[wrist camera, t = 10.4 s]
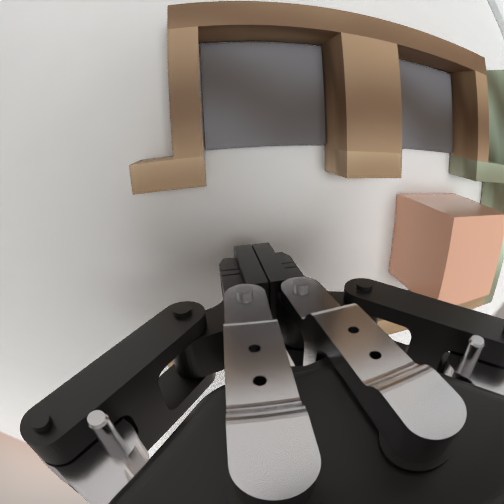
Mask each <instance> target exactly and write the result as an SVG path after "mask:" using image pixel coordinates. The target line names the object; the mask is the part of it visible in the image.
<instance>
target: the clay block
mask: <svg viewBox="0 0 504 504" xmlns="http://www.w3.org/2000/svg"><path fill="white" fill-rule="evenodd" d="M503 237H504V213H503V212H500V211H498V210H496V209H493V208H491V207H488V206H486V205H483V204H480V203H478V202H475V201H473V200H470V199H467V198H464V197H462V196H459V195H456V194H453V193H405V194H397V199H396V212H395V223H394V233H393V241H392V250H391V257H390V264H389V271H388V272H389V273H390V274H391V275H393V276H394V277H395V278H396V279H397V280H399V281H400V282H401V283H402V284H403V285H405V286H406V287H407V288H408V289H409V290H410V291H412V292H414V293H418V294H421V295H424V296H428V297H431V298H434V299H438V300H441V301H444V302H448V303H451V304H454V305H459V304H462V303H465V302H468V301H471V300H474V299H477V298H480V297H483V296H486V295H489V293H490V290H491V286H492V283H493V279H494V276H495V272H496V268H497V264H498V260H499V255H500V251H501V246H502V242H503Z"/></svg>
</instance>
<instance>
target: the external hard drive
mask: <svg viewBox="0 0 504 504" xmlns="http://www.w3.org/2000/svg"><path fill="white" fill-rule="evenodd" d="M487 1H488V3H489V5H490V7H491V9H492V12H493V14H494V16H495V18H496V21H497V23H498V25H499V28H500V30H501V33H502V35H503V38H504V0H487Z"/></svg>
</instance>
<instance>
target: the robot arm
mask: <svg viewBox="0 0 504 504" xmlns="http://www.w3.org/2000/svg"><path fill="white" fill-rule="evenodd" d="M219 267H220V277H221V286H222V295H223V301H222V302H221V303H220V304H219V305H217V306H215V307H213V308H210V309H207V310H205V309H204V307H203V306H202V305H201V304H199V303H196V302H190V301H185V302H178V303H175V304H172V305H170V306H168V307H167V308H165V309H164V310H163V311H161V312H160V313H159V314H157V315H156V316H155V317H153V318H152V319H150V320H149V321H148V322H146V323H145V324H144V325H142V326H141V327H140V328H138V329H137V330H136V331H134V332H133V333H131V334H130V335H129V336H127V337H126V338H125V339H123V340H122V341H121V342H119V343H118V344H117V345H115V346H114V347H113V348H111V349H110V350H108V351H107V352H106V353H104V354H103V355H102V356H100V357H99V358H98V359H96V360H95V361H94V362H92V363H91V364H90V365H88V366H87V367H86V368H84V369H83V370H82V371H80V372H79V373H78V374H76V375H75V376H73V377H72V378H71V379H69V380H68V381H67V382H65V383H64V384H63V385H61V386H60V387H59V388H57V389H56V390H55V391H53V392H52V393H51V394H49V395H48V396H47V397H45V398H44V399H43V400H41V401H40V402H39V403H37V404H36V405H35V406H33V407H32V408H31V409H30V410H28V411H27V412H26V414H25V415H24V416H23V418H22V420H21V424H20V432H21V435H22V437H23V439H24V440H25V441H26V442H27V443H28V444H29V446H30V447H31V448H32V449H33V450H34V451H35V452H36V453H37V454H38V456H39V457H40V459H41V460H42V461H43V462H44V463H45V464H46V465H47V466H48V467H49V468H50V469H51V470H52V471H53V472H54V473H55V474H56V475H57V476H58V477H59V478H60V479H61V480H62V481H64V482H66V483H67V484H68V485H69V486H71V487H72V488H73V489H74V490H75V491H76V492H78V493H79V494H81V496H82V497H83V498H84V499H85V500H86V501H88V502H89V503H90V504H504V319H501V318H497V317H494V316H491V315H488V314H484V313H481V312H478V311H474V310H471V309H468V308H464V307H461V306H458V305H454V304H451V303H448V302H444V301H441V300H438V299H434V298H431V297H428V296H424V295H421V294H418V293H414V292H411V291H408V290H404V289H401V288H398V287H394V286H391V285H387V284H384V283H381V282H377V281H374V280H370V279H364V278H358V279H352V280H350V281H348V282H347V283H346V284H345V288H344V292H331V291H327V290H326V289H325V288H324V287H323V286H322V285H321V284H320V283H319V282H318V281H316V280H314V279H312V278H307V277H304V275H303V274H302V273H301V271H300V270H299V268H298V267H297V266H296V264H295V263H294V261H293V260H292V259H291V257H290V256H288V255H286V254H285V253H283V252H278V253H275V252H274V250H273V249H272V247H271V246H270V244H269V243H261V244H252V246H251V245H243V246H234V258H226V259H223V260H222V261H221V263H220V264H219ZM378 318H380V319H383V320H386V321H389V322H392V323H394V324H397V325H400V326H403V327H406V328H407V329H408V330H409V331H410V333H411V341H410V344H409V345H405V344H402V343H399V342H396V341H394V340H392V339H391V338H390V337H389V336H388V335H387V334H386V333H385V332H384V331H383V330H382V329H381V328H380V326H379V325H378V324H377V323H378ZM448 351H450V352H448ZM172 361H174V364H173V365H172V366H171V367H170V368H169V369H168V370H167V371H166V372H164V373H163V374H162V375H161V376H160V377H159V375H160V373H161V371H162V370H163V369H164V368H165V367H166V366H167V365H168V364H169V363H170V362H172ZM223 369H225V385H223V386H221V387H219V388H217V389H216V390H214V391H212V392H211V393H209V394H208V395H207V396H205V397H204V398H203V399H202V400H201V401H200V402H199V403H198V404H197V405H196V407H195V408H194V409H193V410H192V411H191V413H190V414H189V415H188V416H187V417H186V418H185V420H184V421H183V422H182V423H181V424H180V425H179V426H178V428H177V429H176V430H175V431H174V432H173V433H172V435H171V436H170V437H169V438H168V439H167V440H166V441H165V442H164V444H163V445H162V446H161V447H160V448H159V449H158V450H157V451H156V453H155V454H154V455H153V456H152V457H151V458H150V459H149V454H148V450H149V449H150V448H151V447H152V446H153V445H154V444H155V443H156V442H157V441H158V440H159V439H160V438H161V437H162V436H163V435H164V434H165V433H166V432H167V431H168V430H169V428H170V427H171V426H172V425H173V424H174V423H175V422H176V421H177V420H178V419H179V418H180V417H181V416H182V415H183V414H184V413H185V412H186V411H187V409H188V408H189V407H190V406H191V405H192V404H193V403H194V402H195V401H196V400H197V399H198V398H199V396H200V395H201V394H202V393H203V392H204V391H205V390H206V389H207V388H208V387H209V385H210V384H211V383H212V382H213V381H214V379H215V372H218V371H221V370H223Z"/></svg>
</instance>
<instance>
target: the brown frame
mask: <svg viewBox="0 0 504 504" xmlns="http://www.w3.org/2000/svg"><path fill="white" fill-rule="evenodd" d="M242 41H256V42H242ZM212 42H241V43H212ZM258 42H286V43H258ZM198 43H212V44H200V46H201V74H202V96H203V115H204V132H205V148H206V150H209V149H221V148H235V147H253V146H277V145H325V171H328V172H331V173H333V174H336V175H339V176H342V177H345V178H401V169H402V148H406V149H418V150H428V151H438V152H446V153H450V167H449V173H450V174H454V175H457V176H461V177H464V178H467V179H471V180H474V181H482V182H483V186H482V195H481V204H483V205H486V206H488V207H491V208H493V209H496V210H498V211H500V212H503V213H504V70H488V71H486V66H485V58H484V57H482V56H480V55H478V54H476V53H474V52H471V51H469V50H467V49H465V48H463V47H460V46H458V45H456V44H453V43H451V42H448V41H446V40H443V39H441V38H438V37H436V36H433V35H430V34H428V33H425V32H422V31H419V30H416V29H413V28H410V27H407V26H403V25H400V24H397V23H393V22H390V21H386V20H382V19H378V18H374V17H370V16H366V15H361V14H357V13H352V12H347V11H342V10H336V9H330V8H324V7H317V6H309V5H301V4H291V3H278V2H259V1H218V2H199V3H187V4H177V5H168V77H169V101H170V119H171V134H172V147H173V156H169V157H161V158H153V159H146V160H140V161H138V162H136V163H133V164H131V165H129V167H130V176H131V184H132V192H133V195H134V194H141V193H149V192H157V191H165V190H174V189H183V188H192V187H202V186H206V176H205V162H204V148H203V133H202V116H201V97H200V75H199V47H198ZM287 43H301V44H287ZM302 44H312V45H302ZM313 45H320V46H313ZM399 59H401V60H399ZM402 60H405V61H402ZM406 61H409V62H406ZM410 62H413V63H410ZM414 63H417V64H420V65H417V64H414ZM421 65H424V66H421ZM425 66H427V67H425ZM428 67H431V68H428ZM432 68H434V69H432ZM435 69H437V70H435ZM438 70H441V71H444V72H447V73H448V74H447V73H444V72H441V71H438ZM503 259H504V237H503V242H502V246H501V251H500V255H499V260H498V264H497V268H496V272H495V276H494V279H493V283H492V286H491V290H490V293H489V295H486V296H483V297H480V298H477V299H474V300H471V301H468V302H465V303H462V304H459V305H458V306H461V307H464V308H468V309H473V308H476V307H479V306H482V305H484V304H487V303H490V302H491V301H492V298H493V295H494V292H495V289H496V285H497V282H498V278H499V274H500V271H501V267H502V263H503ZM408 291H410V290H408ZM411 292H412V291H411ZM377 324H378V325H379V326H380V328H381V329H382V330H383V331H384V332H385V333H386V334H387V335H389V334H393V333H396V332H400V331H404V330H407V328H406V327H403V326H400V325H397V324H394V323H392V322H389V321H386V320H383V319H380V318H378V323H377ZM173 364H174V361H172V362H170V363H169V364H168V366H169V368H170V367H171V366H172V365H173Z"/></svg>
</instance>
